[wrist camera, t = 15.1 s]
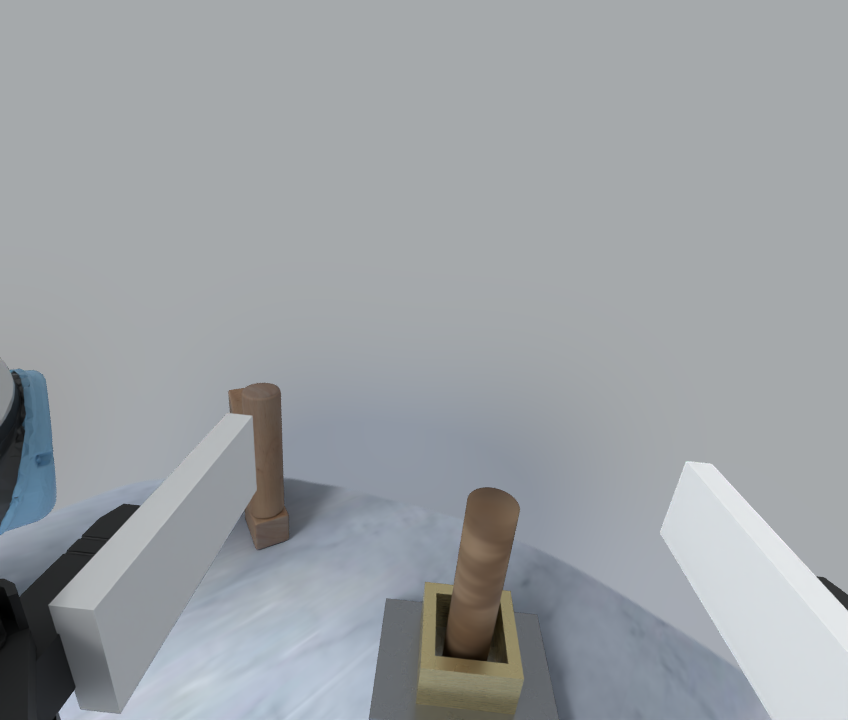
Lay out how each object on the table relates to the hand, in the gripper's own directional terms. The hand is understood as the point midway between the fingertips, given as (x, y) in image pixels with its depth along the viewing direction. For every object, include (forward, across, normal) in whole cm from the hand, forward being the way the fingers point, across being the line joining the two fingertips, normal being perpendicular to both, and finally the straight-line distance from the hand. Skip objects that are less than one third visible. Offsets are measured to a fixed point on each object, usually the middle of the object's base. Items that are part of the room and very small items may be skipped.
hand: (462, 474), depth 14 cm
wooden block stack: (+30, -19, -30) cm, 46 cm away
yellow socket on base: (+14, +4, -30) cm, 33 cm away
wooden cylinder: (+14, +4, -28) cm, 31 cm away
